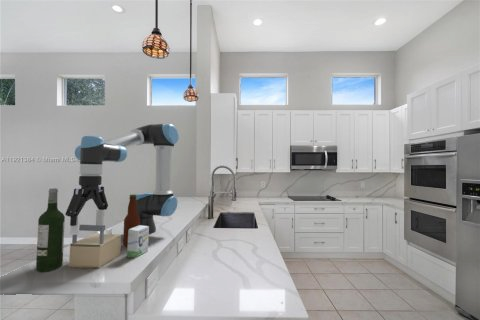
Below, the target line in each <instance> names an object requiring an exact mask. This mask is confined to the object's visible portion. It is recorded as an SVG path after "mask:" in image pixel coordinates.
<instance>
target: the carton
mask: <svg viewBox="0 0 480 320" xmlns="http://www.w3.org/2000/svg"><path fill="white" fill-rule="evenodd" d="M121 240H122V236H120V237H118V238H116V239H114V240H112V241H110V242H108V243H106V244H104V245H103V246H101V247H94V246H70V245H69V264H68V268H80V269H101V268H102V267H104V266H105V265H107V264H109V263H110V262H112V261H114V260H115V259H116V258H118V257H120V256H121V247H122V246H121V245H122V241H121Z"/></svg>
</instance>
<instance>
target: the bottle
mask: <svg viewBox="0 0 480 320" xmlns="http://www.w3.org/2000/svg"><path fill="white" fill-rule="evenodd" d="M136 196H137V195H136V194H129V198H128V199H129V202H128V205H127V214H126V216H125V217H124V219H123V234H122V235H123V237H122V240H123V241H122V245H123V247H124V248H127V247H128V230H129V229H131V228H134V227H136V226H139V225H140V217H139V216H138V214H137V203H136V199H137V198H136Z"/></svg>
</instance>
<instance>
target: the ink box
mask: <svg viewBox="0 0 480 320" xmlns="http://www.w3.org/2000/svg"><path fill="white" fill-rule="evenodd" d="M149 235H150V234H149V226H143V225H139V226H136V227H134V228H131V229H129V230H128V247H126V249H127V250H126V257H127V258H136V259H137V258H138V257H140V256H141V255H143V254H145V253H146V252H148V251H149Z"/></svg>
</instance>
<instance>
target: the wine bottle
mask: <svg viewBox="0 0 480 320" xmlns="http://www.w3.org/2000/svg"><path fill="white" fill-rule="evenodd" d="M58 192H59V190H58V188H49V189H48V199H47V208H46V210H45V211H44V212H43V213H41V215H40V216H39V217H38V220H37V223H38V224H37V225H38V226H37V241H36V258H35V259H36V260H35V270H37V271H36V272H39V271H46V272H51V271H55V270H56V269H60V268H61V267H62V266H63V263H64V245H65V244H64V242H65V220H66V219H65V216H66V215H65V213H63V212H61V211H60V210H59V209H58Z"/></svg>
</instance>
